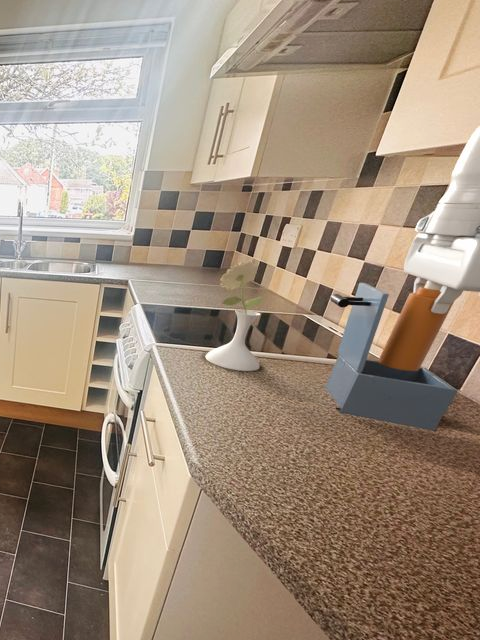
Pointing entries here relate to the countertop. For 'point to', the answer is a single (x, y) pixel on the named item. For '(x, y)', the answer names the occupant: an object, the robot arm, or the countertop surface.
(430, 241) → the robot arm
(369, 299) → the lid
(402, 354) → the bottle
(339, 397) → the box
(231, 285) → the flower in vase
